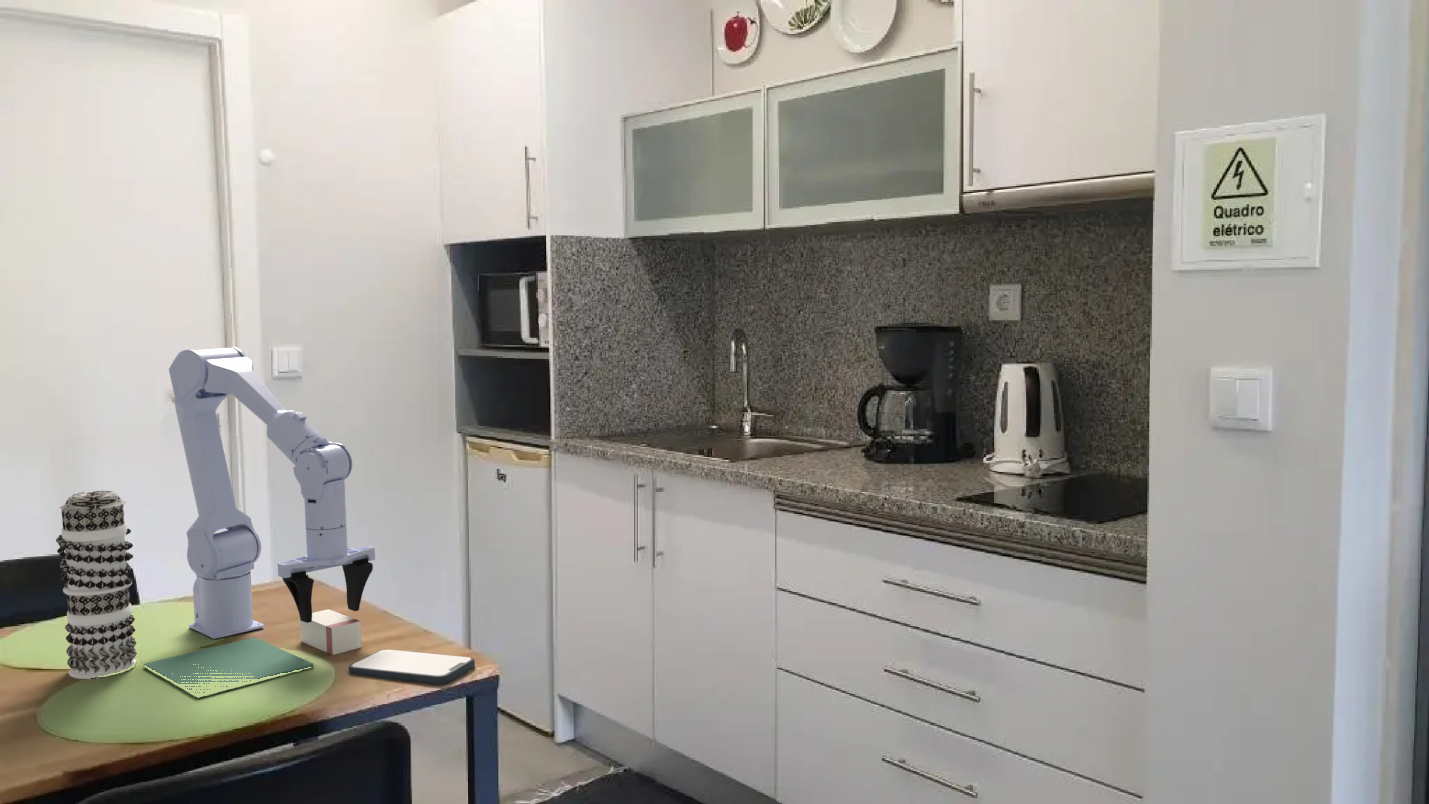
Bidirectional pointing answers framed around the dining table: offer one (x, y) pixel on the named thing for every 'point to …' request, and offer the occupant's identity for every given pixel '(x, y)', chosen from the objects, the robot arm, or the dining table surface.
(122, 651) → the decorative candle
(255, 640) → the card mat
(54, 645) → the dining table surface
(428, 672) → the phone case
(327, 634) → the card deck
